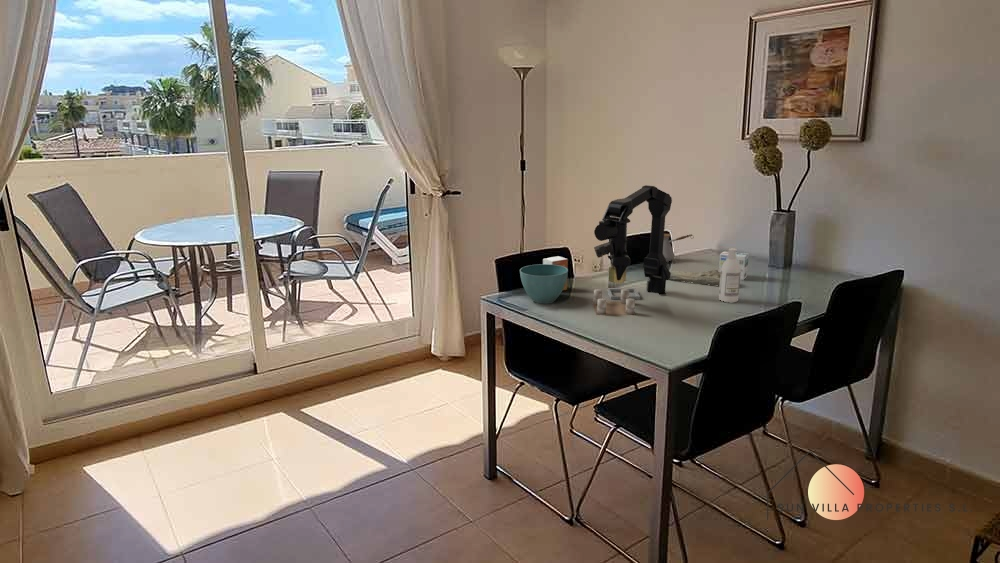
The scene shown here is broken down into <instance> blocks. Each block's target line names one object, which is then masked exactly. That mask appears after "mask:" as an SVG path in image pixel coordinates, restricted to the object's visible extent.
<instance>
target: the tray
mask: <svg viewBox="0 0 1000 563" xmlns="http://www.w3.org/2000/svg"><path fill="white" fill-rule="evenodd" d="M622 289H623V288H607V290H606V292H607V294H608V296H609V298H610V300H612V301H618V300H619V301H621V295H613V294H615V293H616V294H617V293H620V294H621V290H622ZM625 289H628V290H629V294H630V293H633V294H634V295H629V298H631V299H635V301H637V300H638V301H639V300H641V295H640V294H639V292H638V291H637V289H636V288H626V287H625Z"/></svg>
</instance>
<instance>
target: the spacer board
mask: <svg viewBox="0 0 1000 563" xmlns="http://www.w3.org/2000/svg"><path fill="white" fill-rule="evenodd" d="M621 289H622V290H621V293H620V296H621V300H619V301H618V300H612V301H607V299H606V298H603V290H602V289H601V288H596V289H593V300H592V301H591V304H592V306H593V309H594V312H595V315H596V316H637V313H636V312H635V302H636V300H635V299H631V298H629V296H630V293H629V290H628V289H626V288H621Z"/></svg>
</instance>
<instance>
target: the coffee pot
mask: <svg viewBox="0 0 1000 563" xmlns="http://www.w3.org/2000/svg"><path fill="white" fill-rule="evenodd" d="M670 237H671V234H669V233H664V241H663V255H664V257H665V259H666V262H667V263H670V262H671V261H672V260H673V259H674V258H675V253H674V250H673V247H672V245H671V243H673V242H676V241H679V240H684V239H686V238H687V239H688V238H689V237H690V239H691V240H693V239H694V235H693V234H686V235H683V236H680V237H676V238H675V239H674V238H673V239H671V240H670ZM669 261H670V262H669Z"/></svg>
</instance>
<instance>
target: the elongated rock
mask: <svg viewBox="0 0 1000 563" xmlns="http://www.w3.org/2000/svg"><path fill="white" fill-rule="evenodd" d="M668 270H669V271H670V273H671V275H670V279H668V281H674V280H675V281H674V282H681V281H685V282H684V283H687V282H690V283H689V284H699V283H702V284H701V285H704V284H711V285H710V286H714V285H720V276H721V272H719V269H713V270H707V271H702V272H692V271H681V270H674V269H671V270H670V269H668ZM691 282H693V283H691Z"/></svg>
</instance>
